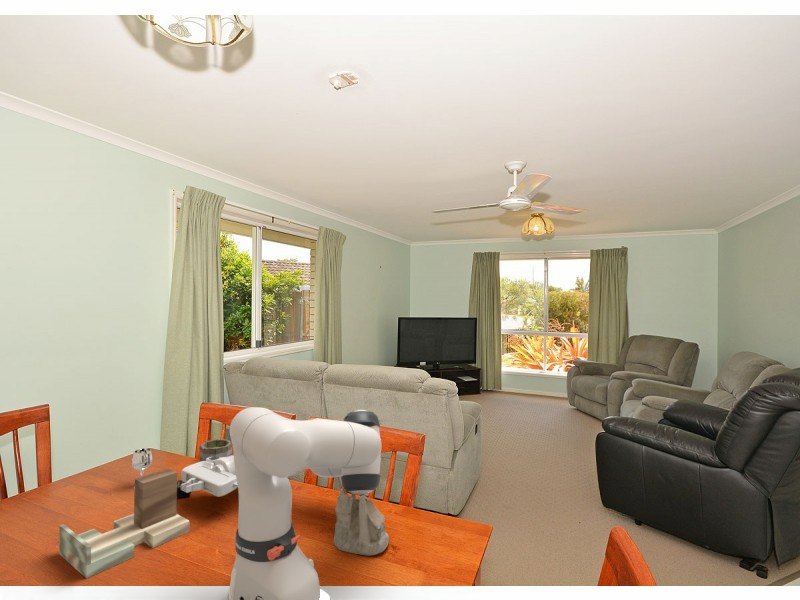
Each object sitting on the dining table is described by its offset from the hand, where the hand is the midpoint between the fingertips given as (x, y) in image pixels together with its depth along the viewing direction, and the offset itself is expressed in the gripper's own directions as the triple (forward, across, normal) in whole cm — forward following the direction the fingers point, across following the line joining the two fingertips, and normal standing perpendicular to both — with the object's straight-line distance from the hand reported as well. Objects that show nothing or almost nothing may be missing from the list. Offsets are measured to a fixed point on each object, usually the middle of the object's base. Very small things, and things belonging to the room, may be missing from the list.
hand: (183, 488), depth 123 cm
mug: (-23, +20, -9) cm, 32 cm away
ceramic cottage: (-22, -49, -8) cm, 54 cm away
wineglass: (-3, +31, -9) cm, 32 cm away
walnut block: (+8, 0, -5) cm, 10 cm away
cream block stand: (+15, 0, -8) cm, 17 cm away
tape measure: (-9, +15, -9) cm, 19 cm away
